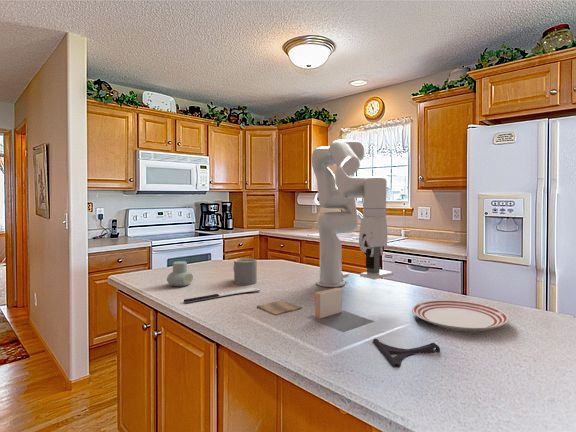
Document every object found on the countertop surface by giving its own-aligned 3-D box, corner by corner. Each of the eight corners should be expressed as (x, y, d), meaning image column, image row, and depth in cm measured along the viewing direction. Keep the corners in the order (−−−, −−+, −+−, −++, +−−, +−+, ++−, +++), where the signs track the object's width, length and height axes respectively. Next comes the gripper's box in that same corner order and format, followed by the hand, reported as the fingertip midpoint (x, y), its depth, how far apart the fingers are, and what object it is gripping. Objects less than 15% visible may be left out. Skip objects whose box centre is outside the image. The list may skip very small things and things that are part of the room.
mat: (336, 310, 126) (336, 308, 126) (374, 323, 114) (374, 321, 114) (306, 319, 118) (306, 317, 118) (343, 333, 105) (343, 331, 105)
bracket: (454, 367, 87) (454, 355, 87) (392, 370, 85) (393, 358, 85) (425, 342, 101) (425, 332, 101) (372, 345, 100) (372, 335, 99)
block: (337, 311, 124) (337, 287, 123) (342, 312, 122) (342, 288, 121) (315, 317, 117) (315, 292, 117) (320, 319, 116) (320, 294, 115)
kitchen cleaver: (250, 285, 158) (262, 287, 150) (250, 289, 158) (262, 291, 150) (178, 297, 141) (186, 300, 133) (178, 301, 141) (187, 305, 133)
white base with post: (360, 276, 124) (360, 243, 124) (378, 272, 131) (379, 241, 130) (374, 279, 120) (374, 245, 119) (393, 275, 126) (393, 242, 125)
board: (281, 302, 135) (281, 300, 135) (301, 310, 126) (301, 307, 126) (256, 308, 128) (256, 305, 128) (275, 317, 120) (275, 314, 120)
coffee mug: (260, 283, 164) (260, 260, 164) (239, 286, 159) (239, 263, 159) (247, 277, 176) (247, 256, 175) (228, 279, 171) (227, 258, 170)
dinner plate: (409, 330, 108) (409, 319, 108) (414, 304, 134) (414, 295, 134) (517, 344, 98) (518, 332, 98) (500, 313, 124) (501, 303, 123)
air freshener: (180, 289, 155) (180, 265, 154) (164, 287, 158) (163, 264, 157) (195, 283, 165) (195, 260, 164) (180, 281, 168) (179, 259, 167)
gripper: (380, 212, 133) (379, 262, 134) (349, 213, 123) (348, 268, 124) (398, 213, 127) (397, 266, 128) (367, 215, 117) (366, 272, 118)
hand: (373, 266), depth 126 cm, fingers closed on white base with post, 3 cm apart
